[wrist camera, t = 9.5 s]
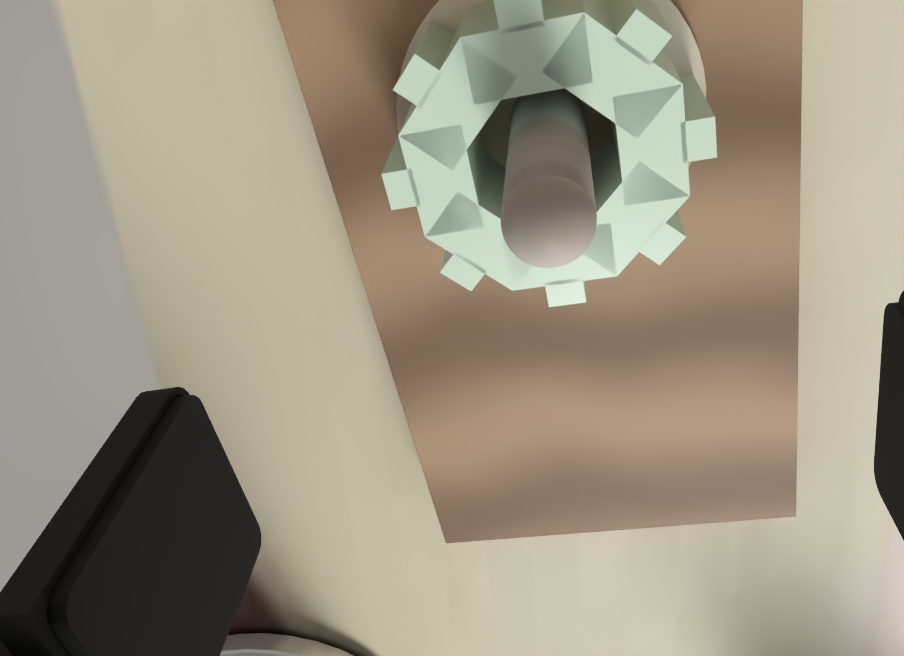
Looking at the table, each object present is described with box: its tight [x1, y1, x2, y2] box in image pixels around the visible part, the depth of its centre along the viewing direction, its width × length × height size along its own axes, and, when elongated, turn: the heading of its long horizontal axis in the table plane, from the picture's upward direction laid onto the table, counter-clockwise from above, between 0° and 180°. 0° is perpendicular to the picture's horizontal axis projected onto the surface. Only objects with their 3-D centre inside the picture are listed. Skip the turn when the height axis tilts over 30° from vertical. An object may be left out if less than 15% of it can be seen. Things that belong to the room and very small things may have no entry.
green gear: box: [381, 0, 717, 307], centre depth 19 cm, size 7×7×3 cm
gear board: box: [273, 0, 803, 543], centre depth 19 cm, size 28×12×9 cm, turn 13°
